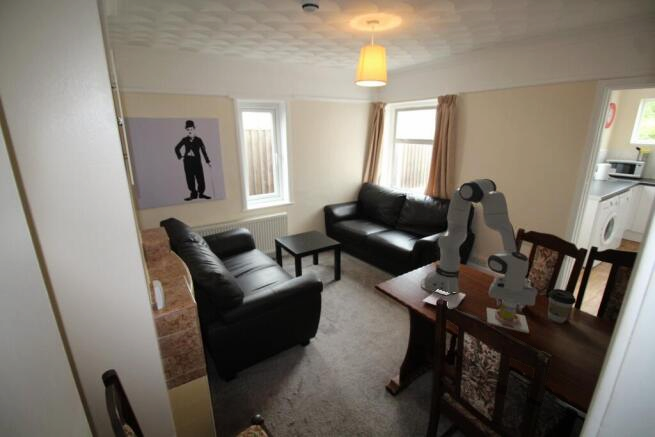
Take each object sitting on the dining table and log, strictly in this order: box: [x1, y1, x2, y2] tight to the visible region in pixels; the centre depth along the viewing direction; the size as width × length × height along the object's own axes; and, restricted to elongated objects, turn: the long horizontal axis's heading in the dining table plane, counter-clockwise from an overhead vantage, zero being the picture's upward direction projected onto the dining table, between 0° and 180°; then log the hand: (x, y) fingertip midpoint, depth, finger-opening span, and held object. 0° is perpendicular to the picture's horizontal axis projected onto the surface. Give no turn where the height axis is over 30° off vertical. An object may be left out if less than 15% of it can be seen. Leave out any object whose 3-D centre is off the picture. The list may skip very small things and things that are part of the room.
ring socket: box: [486, 307, 530, 334], centre depth 155 cm, size 18×14×3 cm
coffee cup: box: [547, 288, 577, 324], centre depth 155 cm, size 11×11×15 cm
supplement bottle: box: [499, 298, 518, 321], centre depth 154 cm, size 7×7×13 cm
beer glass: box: [517, 277, 532, 307], centre depth 168 cm, size 7×7×15 cm
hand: (508, 307), depth 154 cm, fingers open, 8 cm apart
